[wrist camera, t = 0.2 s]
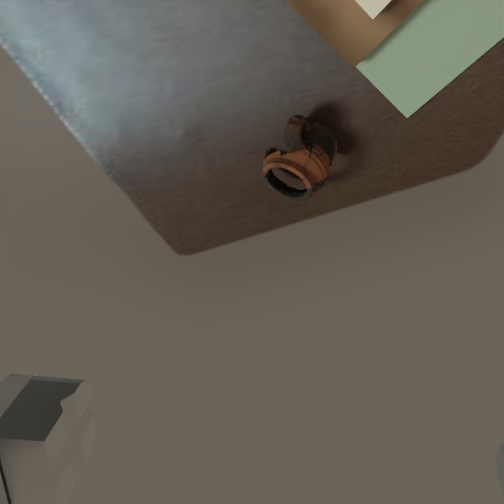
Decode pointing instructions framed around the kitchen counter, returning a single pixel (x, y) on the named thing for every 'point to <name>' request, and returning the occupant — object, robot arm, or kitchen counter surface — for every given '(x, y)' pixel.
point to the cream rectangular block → (373, 6)
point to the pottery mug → (302, 157)
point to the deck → (351, 24)
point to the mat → (432, 49)
